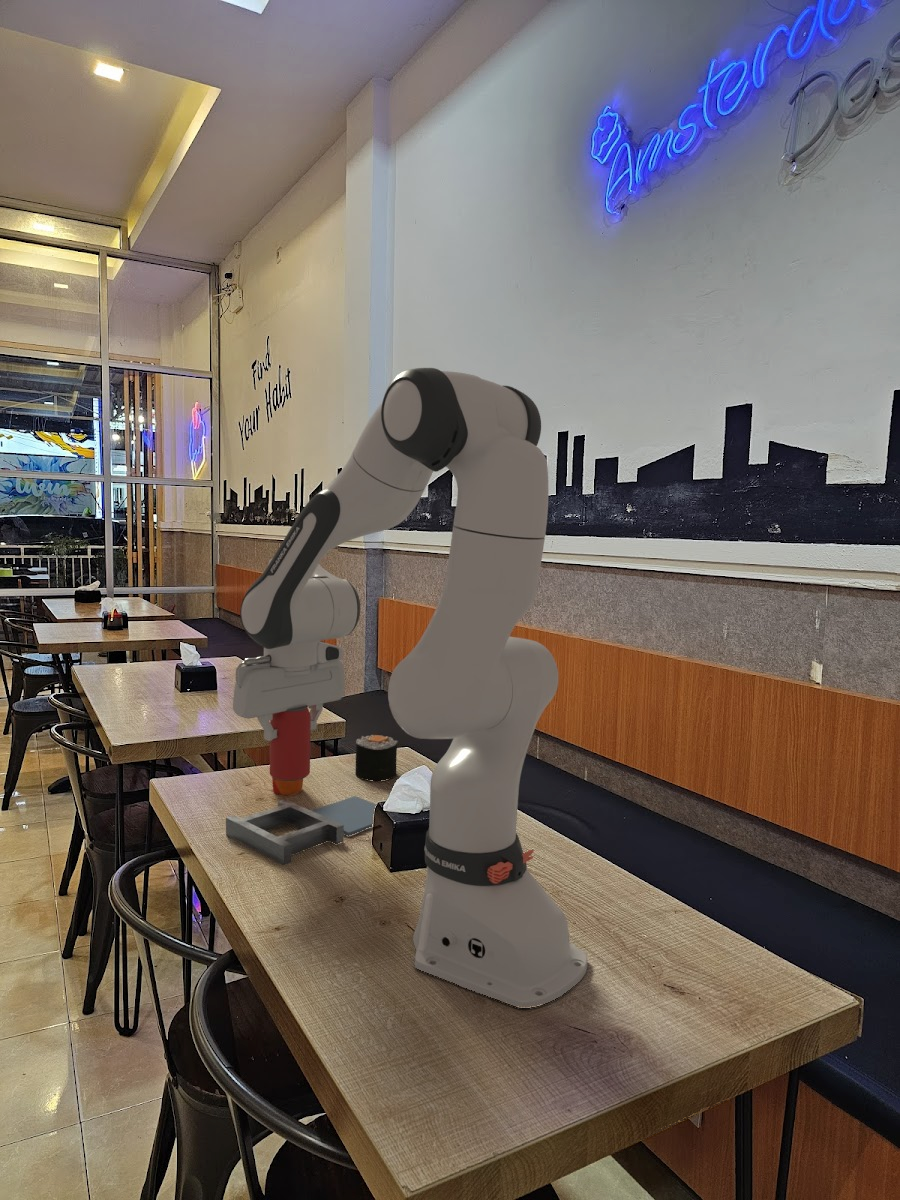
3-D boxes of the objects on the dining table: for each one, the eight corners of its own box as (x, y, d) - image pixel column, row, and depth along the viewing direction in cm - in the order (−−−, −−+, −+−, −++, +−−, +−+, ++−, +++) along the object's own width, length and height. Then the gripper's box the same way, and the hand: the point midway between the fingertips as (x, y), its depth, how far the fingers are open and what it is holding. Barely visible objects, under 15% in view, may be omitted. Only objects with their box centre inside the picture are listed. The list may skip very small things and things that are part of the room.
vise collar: (343, 842, 128) (343, 825, 128) (283, 865, 119) (283, 846, 119) (284, 815, 139) (285, 799, 138) (225, 834, 130) (225, 817, 130)
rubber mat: (399, 817, 139) (399, 813, 139) (348, 837, 130) (348, 832, 130) (355, 800, 147) (355, 796, 147) (304, 817, 138) (304, 812, 138)
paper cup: (273, 782, 155) (273, 714, 154) (311, 784, 155) (312, 715, 154) (262, 796, 148) (262, 724, 146) (302, 798, 147) (303, 726, 146)
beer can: (306, 783, 125) (307, 710, 124) (265, 781, 125) (266, 709, 124) (313, 769, 132) (314, 700, 131) (274, 768, 132) (275, 699, 130)
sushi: (372, 765, 167) (372, 729, 167) (403, 773, 163) (404, 736, 162) (347, 775, 161) (348, 738, 160) (379, 784, 156) (380, 745, 155)
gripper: (248, 662, 116) (248, 752, 118) (351, 648, 132) (349, 727, 133) (224, 656, 121) (224, 743, 122) (327, 643, 136) (326, 720, 137)
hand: (290, 734), depth 128 cm, fingers closed on beer can, 7 cm apart
